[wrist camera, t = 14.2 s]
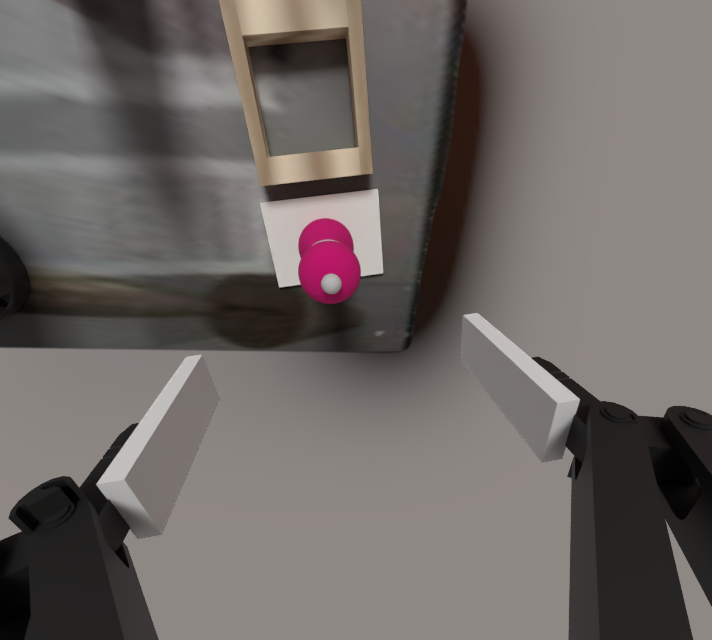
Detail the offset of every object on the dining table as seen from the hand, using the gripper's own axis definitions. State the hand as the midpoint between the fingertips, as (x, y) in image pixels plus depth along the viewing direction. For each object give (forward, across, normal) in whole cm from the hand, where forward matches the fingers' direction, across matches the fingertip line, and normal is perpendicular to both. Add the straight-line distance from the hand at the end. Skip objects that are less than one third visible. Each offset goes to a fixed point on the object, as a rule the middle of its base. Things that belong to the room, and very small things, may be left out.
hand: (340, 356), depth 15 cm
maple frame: (+31, 0, -16) cm, 35 cm away
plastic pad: (+31, 0, 0) cm, 31 cm away
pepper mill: (+31, 0, 0) cm, 31 cm away
